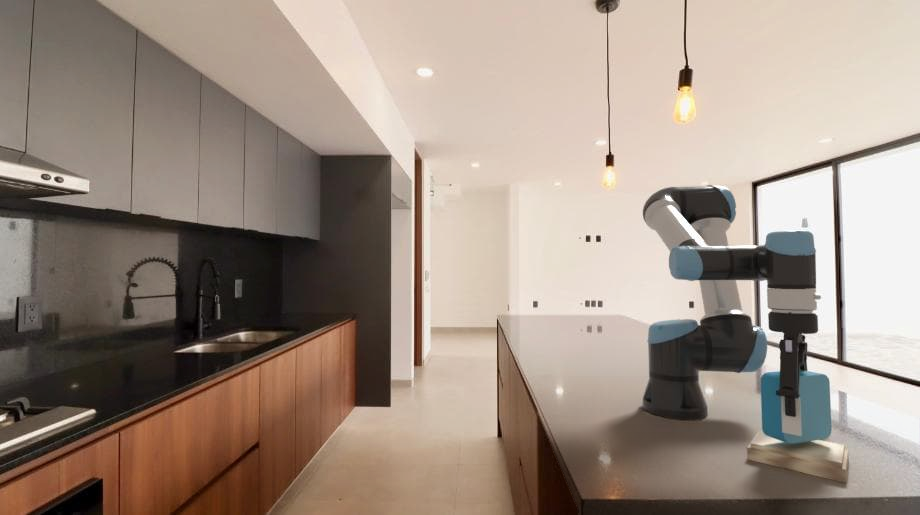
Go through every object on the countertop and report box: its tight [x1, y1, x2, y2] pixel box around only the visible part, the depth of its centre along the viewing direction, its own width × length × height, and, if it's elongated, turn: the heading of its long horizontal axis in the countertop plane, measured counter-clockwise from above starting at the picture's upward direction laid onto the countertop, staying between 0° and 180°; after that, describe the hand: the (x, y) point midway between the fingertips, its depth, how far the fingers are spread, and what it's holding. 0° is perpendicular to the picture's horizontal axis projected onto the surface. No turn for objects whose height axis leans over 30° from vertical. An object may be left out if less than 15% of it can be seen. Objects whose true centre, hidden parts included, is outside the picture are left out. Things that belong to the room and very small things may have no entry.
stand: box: [746, 428, 850, 484], centre depth 82 cm, size 14×12×3 cm
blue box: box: [760, 370, 832, 444], centre depth 82 cm, size 12×4×12 cm, turn 107°
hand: (796, 424), depth 82 cm, fingers open, 13 cm apart
